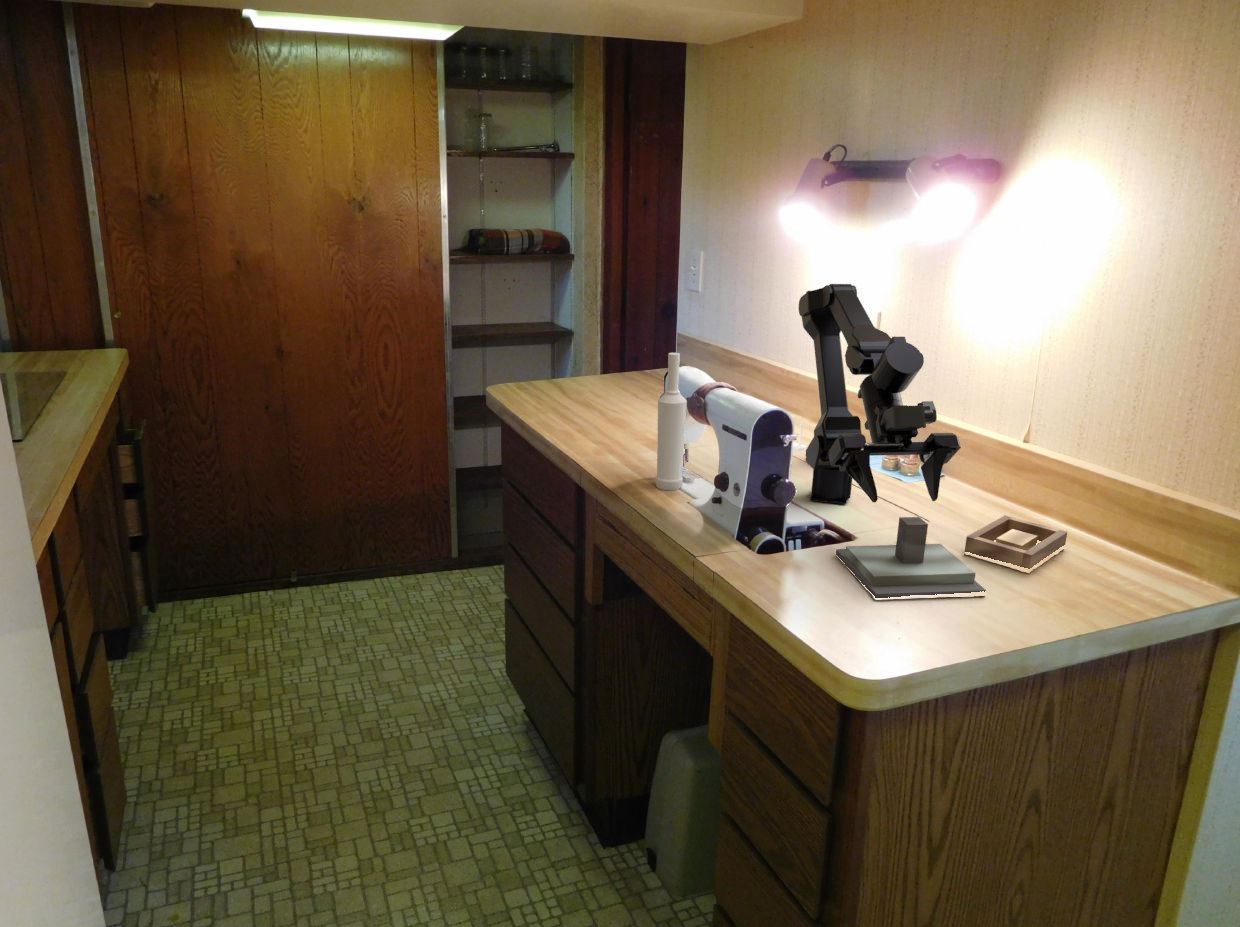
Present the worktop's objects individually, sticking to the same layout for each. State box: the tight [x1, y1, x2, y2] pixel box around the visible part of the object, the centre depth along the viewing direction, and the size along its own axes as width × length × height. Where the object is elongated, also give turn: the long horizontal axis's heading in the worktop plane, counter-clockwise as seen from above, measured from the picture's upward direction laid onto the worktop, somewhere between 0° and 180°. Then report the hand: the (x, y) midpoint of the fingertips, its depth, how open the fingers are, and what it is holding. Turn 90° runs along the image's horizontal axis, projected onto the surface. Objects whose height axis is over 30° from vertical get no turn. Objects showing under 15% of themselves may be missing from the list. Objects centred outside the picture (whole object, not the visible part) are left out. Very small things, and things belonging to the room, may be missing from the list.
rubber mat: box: [835, 548, 987, 598], centre depth 136 cm, size 16×16×1 cm
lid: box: [845, 516, 977, 586], centre depth 134 cm, size 11×15×8 cm
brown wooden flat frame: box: [964, 514, 1068, 569], centre depth 145 cm, size 10×14×3 cm
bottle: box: [654, 352, 688, 491], centre depth 169 cm, size 5×5×25 cm
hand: (905, 500), depth 136 cm, fingers open, 9 cm apart
